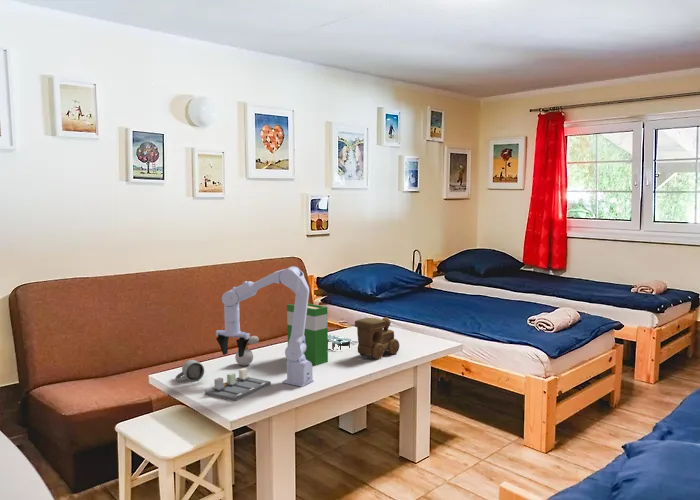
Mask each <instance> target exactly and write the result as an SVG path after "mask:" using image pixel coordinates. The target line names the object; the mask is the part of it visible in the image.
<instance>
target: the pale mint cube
mask: <svg viewBox="0 0 700 500" xmlns="http://www.w3.org/2000/svg"><path fill="white" fill-rule="evenodd" d="M236 378H237V377H236V373H235V372H230V373H228V374H226V382H224V383H225V384H227V385H231V386H233V385H235V384H237V383H238V382H236Z"/></svg>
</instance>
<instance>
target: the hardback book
mask: <svg viewBox="0 0 700 500" xmlns="http://www.w3.org/2000/svg"><path fill="white" fill-rule="evenodd" d="M294 305H295V304H290V303H287V304H286V316H287V317H286V319H287V322H286V323H287V324H286V325H287V345H288V344H289V339H290V336H291V331H292V322H293V313H294ZM328 326H329V325H328V307H327V306H325V305H324V306H323V305H318V304H313V303H308V306H307V315H306V323H305V332H304V335H305V343H306V351H305V352H304V355H305V357H306V360H307V361H310V362H311V363H312V366H314V367H317V366H319V365H323V364H326V363H328V362H329V350H328V336H329V334H328V333H329V332H328V329H329V328H328ZM316 365H317V366H316Z"/></svg>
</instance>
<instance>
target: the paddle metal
mask: <svg viewBox="0 0 700 500" xmlns="http://www.w3.org/2000/svg"><path fill="white" fill-rule="evenodd" d="M213 382H214V387H212V388H211V389H213V390H217V391H221V390H223V389H226V387H224V386H223V383H224V378H223V377H217V378H215V379H214V381H213Z"/></svg>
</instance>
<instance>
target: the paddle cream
mask: <svg viewBox="0 0 700 500" xmlns="http://www.w3.org/2000/svg"><path fill="white" fill-rule="evenodd" d="M236 378H237V379H239V380H243V381H244V380H247V379H249V378H250V376H248V368H246V367H242V368H239V369H238V377H236Z"/></svg>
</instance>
